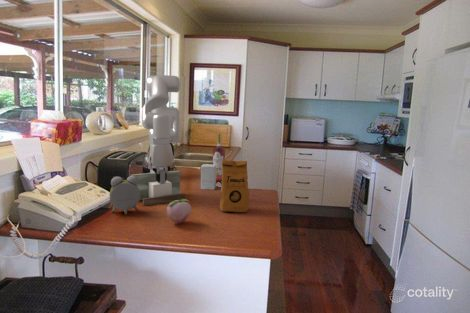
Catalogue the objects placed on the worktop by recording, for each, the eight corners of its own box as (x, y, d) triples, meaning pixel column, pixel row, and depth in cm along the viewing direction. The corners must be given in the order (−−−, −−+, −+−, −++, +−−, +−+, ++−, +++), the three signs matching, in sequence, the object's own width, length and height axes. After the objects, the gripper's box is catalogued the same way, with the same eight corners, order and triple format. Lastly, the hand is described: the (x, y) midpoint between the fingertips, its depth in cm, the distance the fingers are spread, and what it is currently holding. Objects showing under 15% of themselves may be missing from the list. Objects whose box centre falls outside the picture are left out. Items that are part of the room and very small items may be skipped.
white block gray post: (148, 196, 162) (148, 169, 160) (166, 194, 167) (166, 168, 165) (153, 199, 157) (153, 171, 155) (171, 197, 162) (171, 170, 160)
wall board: (131, 200, 159) (130, 174, 157) (178, 194, 173) (178, 170, 171) (139, 206, 150) (139, 179, 149) (188, 199, 164) (189, 174, 162)
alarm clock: (139, 209, 147) (138, 174, 144) (140, 214, 140) (140, 177, 138) (109, 211, 142) (109, 175, 140) (110, 216, 136) (109, 179, 134)
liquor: (225, 180, 208) (227, 134, 204) (222, 183, 201) (223, 134, 197) (214, 179, 210) (215, 133, 206) (210, 181, 203) (211, 134, 199)
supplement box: (216, 186, 191) (216, 164, 190) (213, 190, 184) (214, 166, 182) (202, 186, 192) (203, 163, 190) (200, 189, 185) (200, 165, 183)
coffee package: (248, 214, 145) (251, 162, 142) (219, 213, 145) (220, 161, 141) (248, 207, 155) (250, 159, 151) (220, 206, 155) (221, 158, 151)
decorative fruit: (180, 218, 137) (180, 193, 136) (194, 223, 132) (195, 197, 131) (161, 223, 130) (161, 197, 129) (175, 229, 125) (176, 202, 123)
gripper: (173, 140, 165) (173, 178, 167) (141, 141, 156) (141, 181, 158) (181, 142, 159) (180, 181, 161) (147, 143, 149) (147, 185, 152)
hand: (161, 181), depth 160 cm, fingers closed on white block gray post
